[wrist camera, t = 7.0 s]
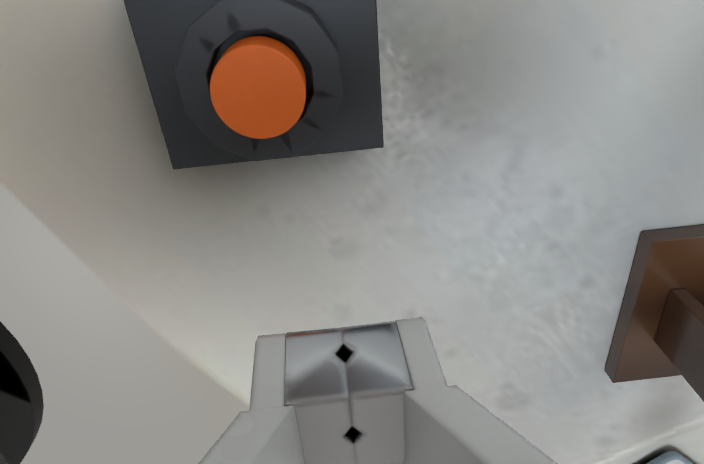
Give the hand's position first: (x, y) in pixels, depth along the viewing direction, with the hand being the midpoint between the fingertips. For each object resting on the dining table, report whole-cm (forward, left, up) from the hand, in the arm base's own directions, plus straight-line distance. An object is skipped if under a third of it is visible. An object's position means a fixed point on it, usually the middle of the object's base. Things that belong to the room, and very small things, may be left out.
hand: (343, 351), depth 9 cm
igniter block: (-2, +1, -18) cm, 18 cm away
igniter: (-2, +1, -14) cm, 14 cm away
